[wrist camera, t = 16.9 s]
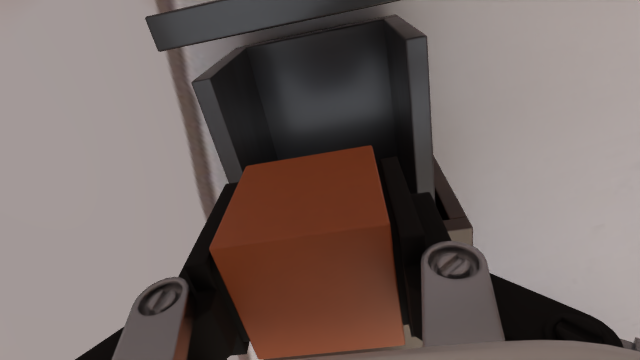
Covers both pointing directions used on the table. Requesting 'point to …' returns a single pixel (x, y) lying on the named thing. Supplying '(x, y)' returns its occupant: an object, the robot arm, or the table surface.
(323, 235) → the block
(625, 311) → the table surface
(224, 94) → the drawer
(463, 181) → the table surface
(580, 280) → the table surface
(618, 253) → the table surface
